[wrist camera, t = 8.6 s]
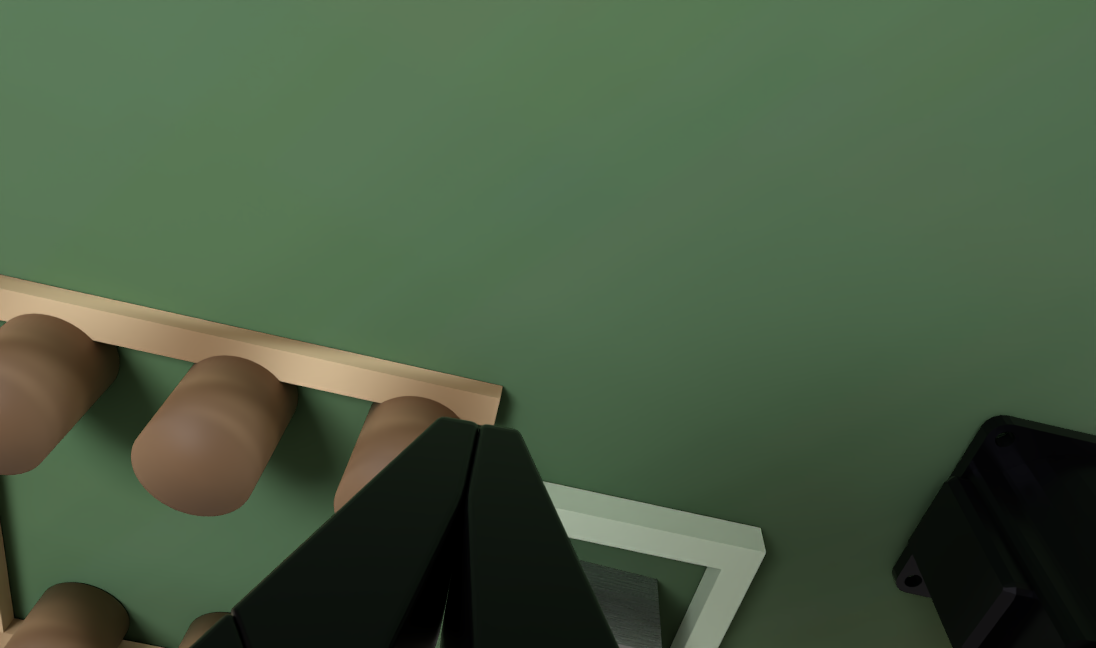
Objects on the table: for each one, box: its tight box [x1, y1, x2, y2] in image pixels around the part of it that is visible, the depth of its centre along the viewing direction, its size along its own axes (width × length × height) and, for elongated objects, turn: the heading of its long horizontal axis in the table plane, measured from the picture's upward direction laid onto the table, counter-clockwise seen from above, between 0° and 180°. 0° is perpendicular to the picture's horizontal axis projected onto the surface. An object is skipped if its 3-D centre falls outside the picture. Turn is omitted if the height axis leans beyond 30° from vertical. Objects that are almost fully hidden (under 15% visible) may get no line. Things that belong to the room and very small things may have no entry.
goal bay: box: [543, 481, 766, 648], centre depth 27 cm, size 7×9×1 cm
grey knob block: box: [579, 560, 662, 648], centre depth 26 cm, size 4×4×3 cm
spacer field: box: [0, 275, 502, 648], centre depth 25 cm, size 16×15×4 cm
